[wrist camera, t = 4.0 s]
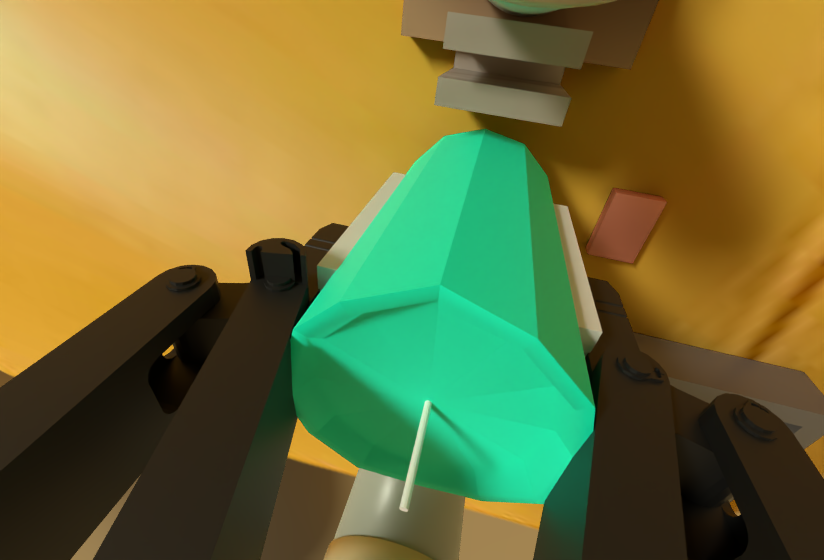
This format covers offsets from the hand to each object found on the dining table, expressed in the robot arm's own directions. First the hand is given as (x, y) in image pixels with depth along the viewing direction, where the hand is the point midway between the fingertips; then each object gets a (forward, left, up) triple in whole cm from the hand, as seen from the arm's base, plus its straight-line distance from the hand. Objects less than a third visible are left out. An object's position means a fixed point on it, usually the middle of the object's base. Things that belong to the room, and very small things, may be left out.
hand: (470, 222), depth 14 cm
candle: (0, 0, -2) cm, 2 cm away
